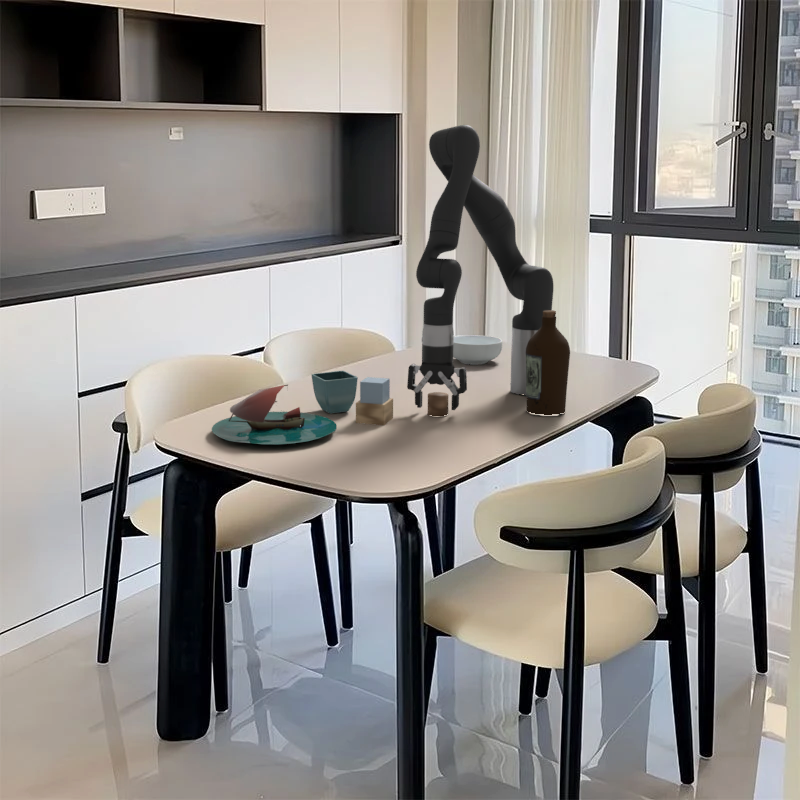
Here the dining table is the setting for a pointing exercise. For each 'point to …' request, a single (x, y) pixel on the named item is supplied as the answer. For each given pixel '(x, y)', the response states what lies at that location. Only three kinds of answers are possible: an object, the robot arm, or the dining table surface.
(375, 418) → the base block
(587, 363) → the dining table surface
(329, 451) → the dining table surface
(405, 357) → the dining table surface
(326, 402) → the flower pot
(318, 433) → the sailing ship model
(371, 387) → the mid block
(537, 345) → the olive oil
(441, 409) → the brown rounded cylinder
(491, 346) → the cereal bowl
